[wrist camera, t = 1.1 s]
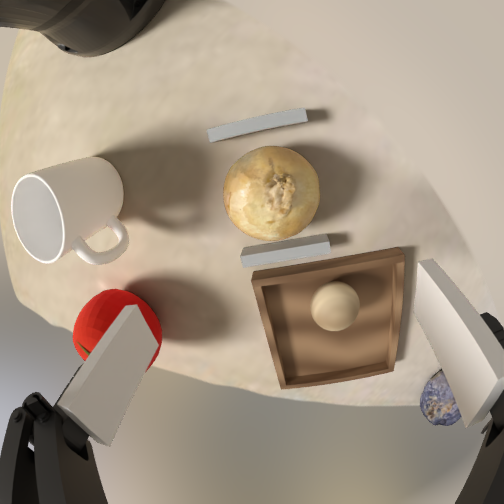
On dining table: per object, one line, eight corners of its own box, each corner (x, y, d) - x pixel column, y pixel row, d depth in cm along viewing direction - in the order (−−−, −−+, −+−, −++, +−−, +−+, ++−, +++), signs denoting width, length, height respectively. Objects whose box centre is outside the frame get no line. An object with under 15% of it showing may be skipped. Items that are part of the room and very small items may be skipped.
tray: (253, 271, 29) (251, 280, 27) (398, 247, 26) (404, 254, 24) (281, 379, 35) (281, 389, 34) (390, 361, 32) (393, 371, 31)
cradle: (212, 129, 23) (206, 129, 21) (303, 109, 22) (304, 107, 20) (245, 258, 28) (243, 267, 26) (327, 244, 27) (330, 253, 25)
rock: (416, 418, 35) (444, 442, 25) (414, 371, 36) (447, 389, 26) (459, 394, 35) (490, 410, 25) (459, 347, 36) (494, 358, 26)
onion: (314, 228, 26) (323, 261, 20) (232, 227, 27) (216, 258, 21) (316, 145, 23) (329, 150, 16) (229, 145, 24) (208, 150, 17)
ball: (305, 276, 28) (309, 304, 23) (353, 268, 27) (364, 294, 22) (311, 314, 30) (314, 345, 25) (355, 307, 29) (364, 336, 24)
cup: (90, 141, 25) (22, 155, 15) (164, 207, 27) (110, 246, 18) (64, 197, 28) (6, 225, 18) (129, 259, 30) (80, 307, 21)
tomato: (159, 352, 36) (130, 409, 26) (98, 314, 35) (59, 362, 25) (184, 305, 32) (150, 370, 22) (111, 260, 30) (58, 310, 21)
